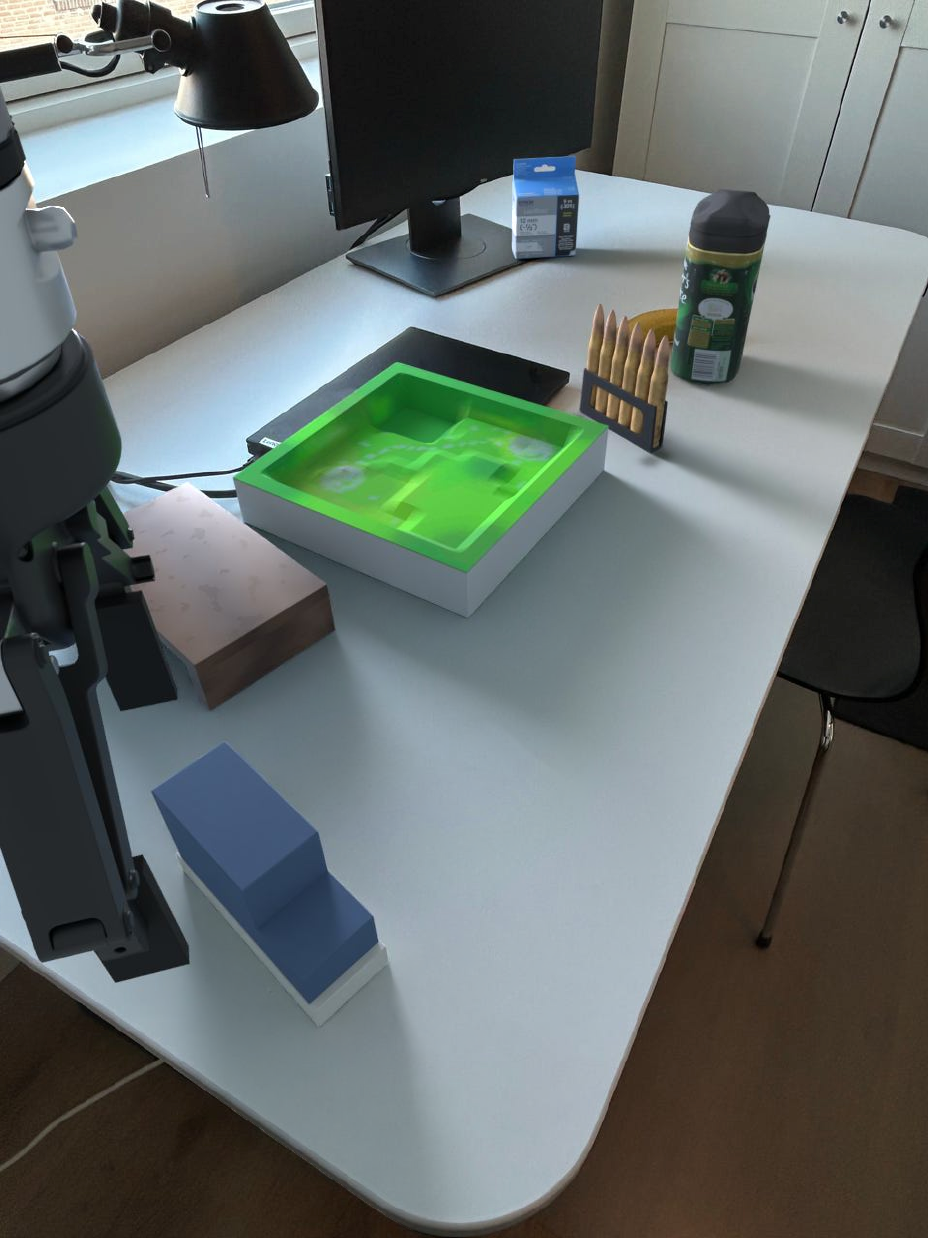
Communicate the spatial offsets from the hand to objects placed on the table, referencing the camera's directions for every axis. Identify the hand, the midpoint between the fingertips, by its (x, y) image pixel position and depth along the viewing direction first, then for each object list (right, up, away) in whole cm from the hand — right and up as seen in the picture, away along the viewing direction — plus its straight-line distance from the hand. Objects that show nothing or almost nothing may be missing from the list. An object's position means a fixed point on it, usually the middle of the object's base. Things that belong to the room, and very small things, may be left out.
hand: (151, 816), depth 38 cm
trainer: (+2, -10, +16) cm, 19 cm away
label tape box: (+25, +61, +89) cm, 111 cm away
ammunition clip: (+30, +28, +55) cm, 69 cm away
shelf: (-8, +9, +36) cm, 38 cm away
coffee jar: (+41, +37, +64) cm, 85 cm away
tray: (+10, +20, +47) cm, 52 cm away
